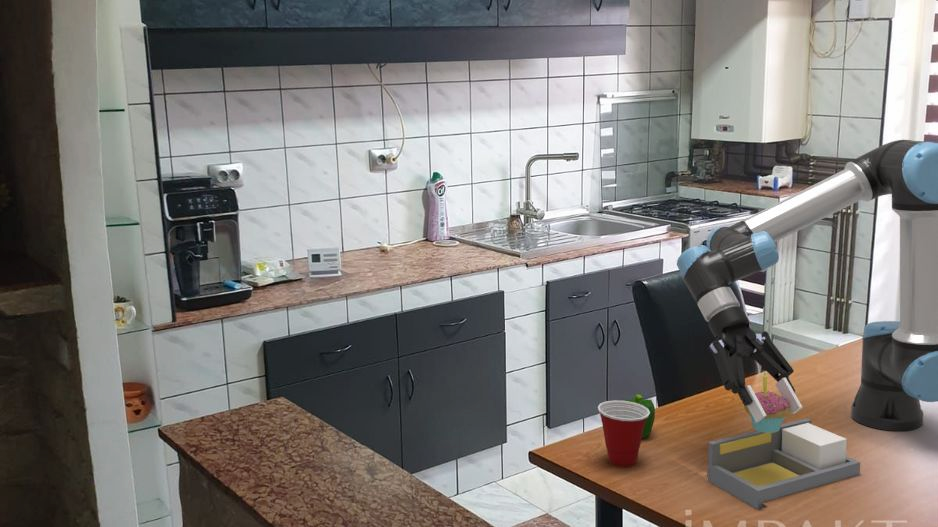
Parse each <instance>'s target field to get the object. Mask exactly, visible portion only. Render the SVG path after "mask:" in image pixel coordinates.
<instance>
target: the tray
mask: <svg viewBox="0 0 938 527" xmlns="http://www.w3.org/2000/svg"><path fill="white" fill-rule="evenodd" d="M806 423H810V424H812V419H809V418H808V417H806V418H803V419H798V420H795V421H791V422H787V423H786V422H785V423H782V424H781V426H780V429H779V431H777V432H774V433H764V432H759V431H757V430H752V431H750V432H746V433H745V432H744V433H741V434H737V435H733V436H729V437H724V438H720V439H717V440H713V441H708V443H707V444H708V448H707V482H708V483H710V484H713V485H714V486H716V487H718V488H720V489H721V490H722V491H725V492H726V493H728V494H730V495H731V496H733V497H735V498H737V499H738V500H740V501H742V502H744V503H746V504H747V505H749V506H751V507H752V508H754V509H756V510H760V509H764V508H768V506H767V505H766V504H763V503H765V502H769V501H773V500H777V499H779V498H782V497H787V496H790V495H794V494H797V493H800V492H803V491H807V490H811V489H814V488H817V487H820V486H824V485H827V484H831V483H834V482H839V481H841V480H845V479H849V478H852V477H857V476H859V475H860V474H861V461H858V460H856V459H853V458H851V457H849V456H847V455H846V463H843V464H840V465H836V466H833V467H829V468H825V469H822V470H820V469H818V468H815V467H813V466H811V465H809V464H807V463H805V462H803V461H801V460H799V459H796V458H794V457H792V456H790V455H788V454H786V453H784V452H782V429H785V428H789V427H793V426H797V425H801V424H806Z"/></svg>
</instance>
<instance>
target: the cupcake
mask: <svg viewBox="0 0 938 527" xmlns="http://www.w3.org/2000/svg"><path fill="white" fill-rule="evenodd" d="M763 374H764V375H763V377H762V378H763V379H762V380H763V384H762V386H763V387H762V389H763V390H762V391H759V392H754V393H755V395H756V397H757V399H758V400H759V402H760V404H761V406H762V408H763V410H764V411H765V413H766V415H767V416H765V417H764V418H763V419H762V420H761V421H759V422H755V420H754V418H753V416H752V414H751V412H750V410H749V409H748V407H747V406H745V405H744V404H743V408H744V410H745V412H746V413H747V414H748V416H750V419H751V420H750V421H751V423H752V427H753V429H754V431H759V432H764V433H774V432H777V431H779V429H780V426H781V425H782V424H783V421H784V419H785V418H786V417H787V416H789V413H791V412H790V405H789V402H787V400H786V399H785V398H783V397H782V396H781V395H780V394H778V393H776V392H775V393H774V392H773V391H768V375H766V371H764V372H763Z"/></svg>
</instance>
